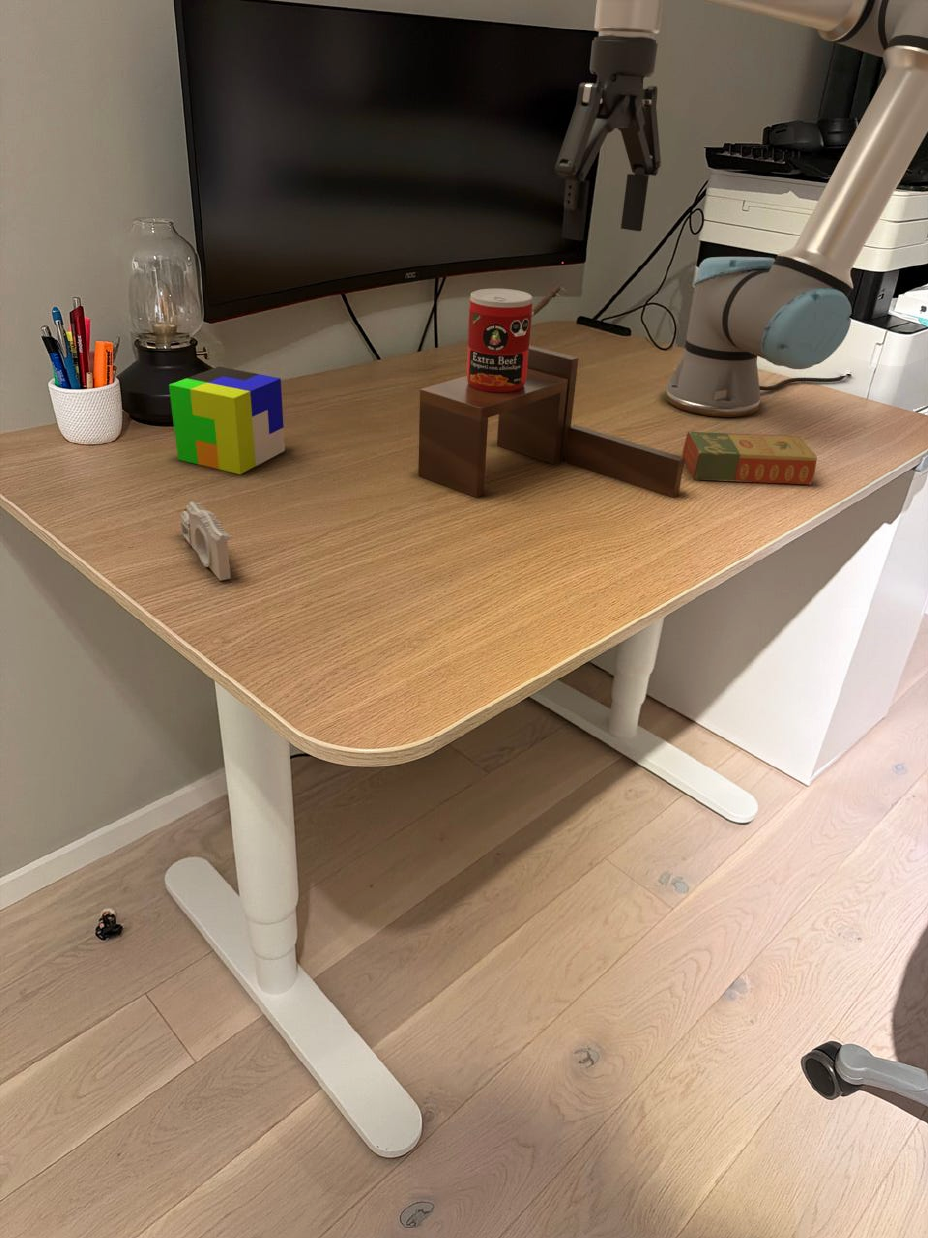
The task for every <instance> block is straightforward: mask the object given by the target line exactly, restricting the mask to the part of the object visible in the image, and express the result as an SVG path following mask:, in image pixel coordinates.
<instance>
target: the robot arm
mask: <svg viewBox="0 0 928 1238" xmlns="http://www.w3.org/2000/svg"><path fill="white" fill-rule="evenodd" d="M705 1H707V2H709V3H713V4H718V5H721V6H726V7H730V8H734V9H737V10H742V11H745V12H750V13H752V14H758V15H761V16H766V17H769V18H773V19H778V20H781V21H785V22H789V23H793V24H797V25H800V26H804V27H808V28H812V29H816V31H817V34H818V35H819V36H820V38H822V39H823V40H825V41H828V42H832V43H836V44H839V45H843V46H846V47H849V48H851V49H855V50H859V51H861V52H864V53H867V54H870V55H873V56H876V57H879V58H882V59H883V63H884V67H885V73H884V77H882V79H881V82H880V84H879V85H878V87H877V89H876V91H875V93H874V95H873V97H872V99H871V101H870V103H869V105H868V106H867V108H866V110H865V112H864V114H863V116H862V118H861V120H860V122H859V124H858V125H857V127H856V129H855V131H854V133H853V135H852V136H851V139H850V140H849V142H848V144H847V146H846V148H845V150H844V152H843V153H842V155H841V157H840V159H839V161H838V163H837V165H836V166H835V169H834V171H833V173H832V174H831V176H830V178H829V180H828V182H827V184H826V186H825V188H824V190H823V192H822V194H821V196H820V197H819V199H818V201H817V202H816V205H815V206H814V208H813V211H812V212H811V214H810V216H809V217H808V219H807V222H806V223H805V225H804V227H803V230H802V231H801V233H800V234H799V237H798V239H797V240H796V243H795V244H794V246H793V247H792V248H789V249H787V250H785V251H781V252H780V253H778V254H777V256H776V257H775V258H774V257H762V256H756V257H755V256H715V257H714V256H713V257H708V258H705V259H703V260H702V262H700V264H699V266H698V268H697V269H698V270H697V274H696V277H695V280H694V283H693V296H692V301H691V305H690V306H691V307H690V314H689V318H688V319H689V320H688V326H687V332H686V338H685V345H684V349H683V352H682V353H683V354H682V356H681V357H680V360H679V362H678V363H677V365H676V367H675V369H674V371H673V373H672V375H671V377H670V379H669V381H668V383H667V386H666V391H665V395H664V397H665V401H666V402H667V403H668V404H670V405H671V406H673V407H675V408H677V409H679V410H682V411H685V412H688V413H692V414H697V415H703V416H710V417H718V418H719V417H721V418H723V417H724V418H737V417H738V418H739V417H744V416H745V417H746V416H750V415H752V414H754V413H756V412H758V410H759V408H760V402H761V391H764V392H765V391H766V392H767V391H769V392H770V391H774V390H778V389H779V388H782V387H783V386H785V385H788V384H790V383H791V384H792V383H799V382H802V383H803V382H807V383H809V382H810V383H837V382H840V381H843V380H844V379H845V378H846V376H847V377H852V373H851V374H847V375H846V376H841V375H840V376H837V377H792V378H787V379H784V380H782V381H780V382H779V383H776V384H774V385H770V386H764V385H760V380H759V372H758V357H759V358H761V359H764V360H766V361H767V362H768V363H771V364H773V365H775V366H777V367H784V368H788V369H792V370H806V369H811V368H812V367H813V366H815V365H820V364H821V363H823V362H825V361H826V360H827V359H829V358H830V357H831V356H832V355H833V354H834V353H835V352H836V351H837V350H838V349H839V348H840V346H841V345H842V343H843V342H844V341H845V338H846V337H847V335H848V333H849V330H850V327H851V323H852V319H851V318H850V316H851V315H852V306H851V302H850V301H849V299H848V298H849V296H850V294H851V292H852V291H853V290H854V284H853V280H852V277H851V270H852V269H853V267H854V265H855V264H856V262H857V260H858V258H859V256H860V254H861V252H862V251H863V248H864V247H865V245H866V243H867V242H868V240H869V238H870V236H871V234H872V232H873V231H874V229H875V227H876V225H877V224H878V222H879V220H880V218H881V216H882V214H883V212H884V211H885V209H886V207H887V206H888V204H889V202H890V200H891V198H892V196H893V194H894V193H895V192H896V189H897V187H898V186H899V184H900V182H901V180H902V179H903V177H904V175H905V173H906V171H907V169H908V167H909V166H910V164H911V162H912V161H913V158H914V157H915V155H916V153H917V151H918V149H919V148H920V146H921V144H922V142H923V140H924V139H925V137H926V135H927V133H928V0H705ZM663 6H664V0H596V4H595V15H594V25H593V29H594V30H595V31H596V32H598V36H596V37H594V38H593V40H592V41H591V49H590V50H591V51H590V52H591V53H590V59H589V60H590V61H589V72H590V74H592V75H596V76H597V78H596V82H594V83H593V82H581V83H579V85H578V90H577V95H576V104H575V107H574V110H573V112H572V116H571V119H570V121H569V125H568V127H567V130H566V133H565V135H564V139H563V142H562V145H561V148H560V150H559V153H558V156H557V159H556V161H555V165H554V172H555V173H556V174H557V176H558V178H559V179H565V188H564V199H563V219H562V229H561V238H562V239H568V240H572V241H573V240H574V241H584V239H585V238H584V235H585V227H586V219H587V210H588V209H587V207H588V200H589V191H590V190H589V189H590V180H585V179H586V177H587V175H588V173H589V171H590V169H591V167H592V165H593V164H594V161H595V159H596V158H597V156H598V154H599V152H600V150H601V148H602V146H603V144H604V142H605V140H606V138H607V136H608V135H609V133H611V132H613V131H614V130H615V129H617V130H618V131H620V133H621V137H622V140H623V144H624V147H625V151H626V155H627V159H628V161H629V165H630V169H631V172H632V173H627V175H626V183H625V192H624V200H623V208H622V215H621V223H620V230H621V229H622V230H627V231H634V232H641V231H642V229H643V223H644V222H643V221H644V213H645V206H646V200H647V199H646V198H647V191H648V185H649V177H650V176H652V177H656V176H657V175H658V173H659V169H660V168H661V165H662V159H661V157H662V156H661V146H660V137H659V136H660V135H659V125H658V114H657V113H658V111H657V102H658V87H657V86H656V85H644V78H651V77H652V76H653V75H654V73H655V67H656V62H657V61H656V60H657V53H658V45H659V43H657V40H656V39H654V38H655V35H658V34H659V33H660V31H661V25H662V15H663V9H664V7H663Z"/></svg>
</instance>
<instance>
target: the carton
mask: <svg viewBox="0 0 928 1238" xmlns="http://www.w3.org/2000/svg"><path fill="white" fill-rule="evenodd" d="M681 457H683V458H685V461H684V464H686V466H687V468H688V470H689V472H690V474H691V476H692V477H693V479H694V480H696V481H723V482H745V483H746V482H747V483H766V484H767V483H769V484H771V483H772V484H791V485H792V484H793V485H794V484H795V485H811V484H812V483H813V479H814V475H815V472H816V466H817V461H818V457H817V455H816V454H815V452H814V451H813V450H812V449H811V447H810V446H809V445H808V444H807V443H806V442H805V441H804V439H802V437H801V436H797V435H781V434H779V435H777V434H751V433H727V432H704V431H691V430H690V431H687V434H686V437H685V440H684V445H683V449H682V453H681Z"/></svg>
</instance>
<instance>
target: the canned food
mask: <svg viewBox="0 0 928 1238" xmlns="http://www.w3.org/2000/svg"><path fill="white" fill-rule="evenodd" d="M532 310H533V296H532V295H531V294H530V293H528V292H527V291H522V290H516V289H510V288H483V289H481V288H480V289H477V290H474V291H472V292H471V293H470V297H469V307H468V328H467V329H468V330H467V331H468V332H467V353H466V355H467V356H466V376H467V380H468V384H469V385H470V386H471V387H473V388H475V389H478V390H482V391H487V392H511V391H516V390H519V389H521V388H522V387H523V386H524V383H525V381H526V376H527V364H528V352H529V343H530V339H531V338H530V337H531V327H532V326H531V325H532V318H533V317H532ZM531 317H532V318H531Z"/></svg>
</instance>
